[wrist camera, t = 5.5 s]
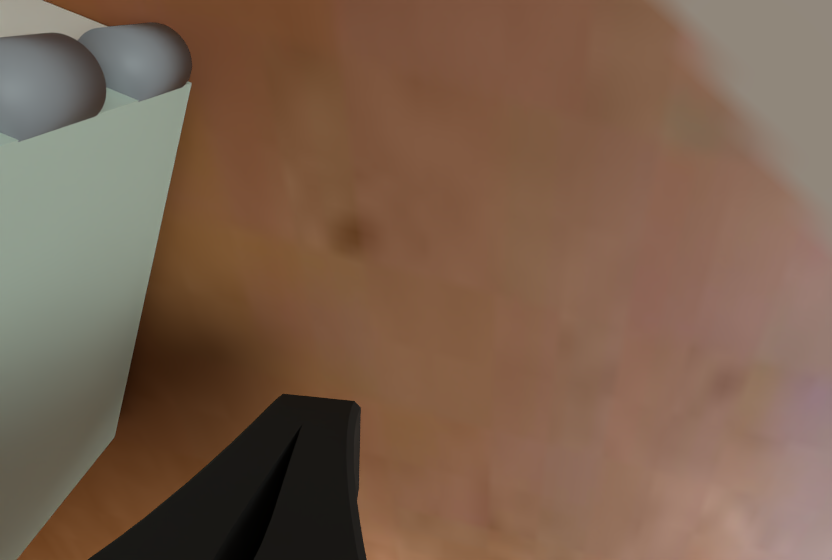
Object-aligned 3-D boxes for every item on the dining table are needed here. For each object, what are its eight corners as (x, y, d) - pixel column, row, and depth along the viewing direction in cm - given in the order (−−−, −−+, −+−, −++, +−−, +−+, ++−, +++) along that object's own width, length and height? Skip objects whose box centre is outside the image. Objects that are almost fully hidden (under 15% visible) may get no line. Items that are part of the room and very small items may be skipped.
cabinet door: (207, 37, 11) (9, 72, 6) (118, 438, 15) (-37, 634, 11) (143, 10, 11) (-107, 24, 6) (72, 421, 15) (-104, 612, 11)
